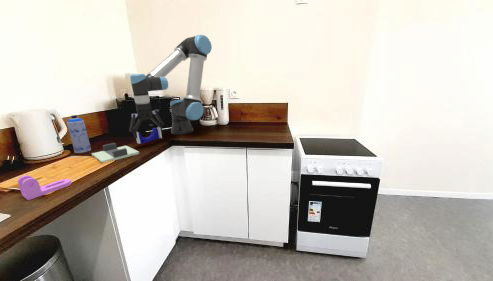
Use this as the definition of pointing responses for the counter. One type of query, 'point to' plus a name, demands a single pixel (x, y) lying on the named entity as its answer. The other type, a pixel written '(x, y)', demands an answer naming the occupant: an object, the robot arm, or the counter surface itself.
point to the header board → (105, 156)
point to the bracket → (33, 189)
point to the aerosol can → (78, 135)
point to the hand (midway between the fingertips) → (150, 140)
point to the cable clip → (153, 136)
